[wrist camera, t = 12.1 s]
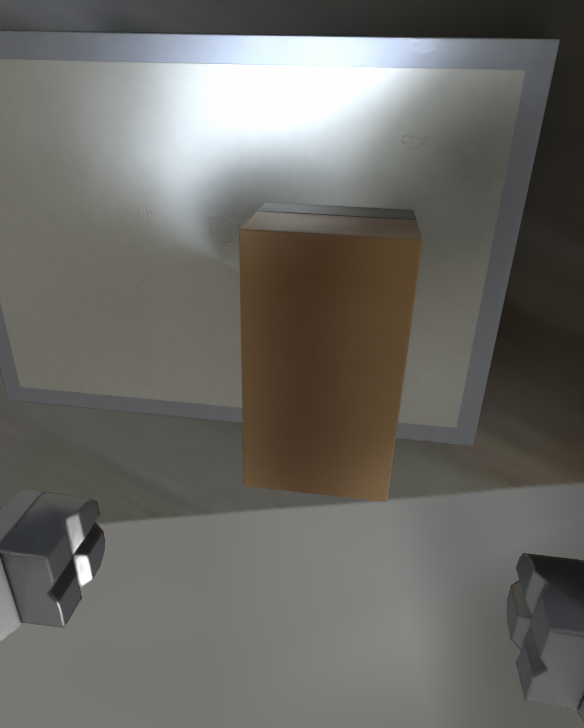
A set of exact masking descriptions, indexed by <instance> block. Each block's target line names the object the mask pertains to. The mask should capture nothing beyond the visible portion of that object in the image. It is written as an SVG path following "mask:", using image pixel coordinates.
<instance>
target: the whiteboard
mask: <svg viewBox="0 0 584 728" xmlns="http://www.w3.org/2000/svg"><path fill="white" fill-rule="evenodd" d="M559 43H560V39H540V38H475V37H409V36H344V35H278V34H213V33H147V32H82V31H16V30H0V370H1V374H2V378H3V382H4V386H5V390H6V394H7V398H8V400H11V401H21V402H31V403H42V404H52V405H62V406H72V407H83V408H93V409H103V410H114V411H124V412H134V413H144V414H155V415H165V416H175V417H186V418H196V419H206V420H216V421H227V422H237V423H243V418H242V366H241V313H240V261H239V229H240V228H241V227H242V226H243V225H244V224H245V223H246V222H247V221H248V220H249V219H250V218H251V217H252V216H253V215H254V214H255V213H256V212H257V211H258V210H259V209H260V208H261V207H262V205H263V204H264V203H266V202H267V203H286V204H305V205H323V206H342V207H361V208H380V209H399V210H413V211H414V214H415V217H416V220H417V224H418V227H419V230H420V234H421V237H422V240H423V245H422V252H421V259H420V267H419V274H418V281H417V289H416V296H415V303H414V311H413V318H412V325H411V333H410V340H409V347H408V354H407V362H406V369H405V376H404V384H403V391H402V398H401V406H400V413H399V420H398V428H397V435H396V438H401V439H412V440H422V441H432V442H443V443H453V444H463V445H474V440H475V436H476V431H477V426H478V422H479V417H480V412H481V408H482V403H483V398H484V393H485V389H486V384H487V379H488V375H489V370H490V365H491V361H492V356H493V351H494V347H495V342H496V337H497V333H498V328H499V323H500V319H501V314H502V309H503V305H504V300H505V295H506V291H507V286H508V281H509V277H510V272H511V267H512V263H513V258H514V253H515V249H516V244H517V239H518V235H519V230H520V225H521V221H522V216H523V211H524V207H525V202H526V197H527V193H528V188H529V183H530V179H531V174H532V169H533V165H534V160H535V155H536V151H537V146H538V141H539V137H540V132H541V127H542V123H543V118H544V113H545V109H546V104H547V99H548V95H549V90H550V85H551V81H552V76H553V71H554V66H555V62H556V57H557V52H558V48H559Z"/></svg>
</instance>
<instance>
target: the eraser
mask: <svg viewBox="0 0 584 728" xmlns="http://www.w3.org/2000/svg"><path fill="white" fill-rule="evenodd" d="M422 245H423V240H422V237H421V234H420V230H419V227H418V224H417V220H416V217H415V214H414V211H413V210H399V209H380V208H361V207H342V206H323V205H305V204H286V203H267V202H266V203H264V204H263V205H262V207H261V208H260V209H259V210H258V211H257V212H256V213H255V214H254V215H253V216H252V217H251V218H250V219H249V220H248V221H247V222H246V223H245V224H244V225H243V226H242V227H241V228H240V229H239V261H240V313H241V366H242V418H243V470H244V486H250V487H259V488H268V489H276V490H285V491H294V492H303V493H312V494H321V495H330V496H339V497H348V498H356V499H365V500H374V501H383V502H387V500H388V493H389V486H390V479H391V471H392V464H393V457H394V449H395V442H396V435H397V428H398V420H399V413H400V406H401V398H402V391H403V384H404V376H405V369H406V362H407V354H408V347H409V340H410V333H411V325H412V318H413V311H414V303H415V296H416V289H417V281H418V274H419V267H420V259H421V252H422Z"/></svg>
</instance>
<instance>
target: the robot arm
mask: <svg viewBox="0 0 584 728" xmlns="http://www.w3.org/2000/svg"><path fill="white" fill-rule="evenodd" d="M99 515H100V511H99V507H98V503H97V501H95V500H93V499H89V498H82V497H76V496H69V495H62V494H56V493H49V492H39V491H33V490H27V489H23V490H21V491H18V492H16V493H15V494H14V495H13V496H12V497H11V498H10V499H9V501H8V502H7V503H6V504H5V505H4V506H3V507H2V508H1V509H0V641H1V640H3V639H4V638H5V637H7V636H8V635H9V634H11V633H12V632H13V631H15V630H16V629H17V628H19V627H20V626H21V622H22V623H30V624H37V625H45V626H53V627H61V628H65V626H66V624H67V622H68V621H69V619H70V617H71V616H72V614H73V612H74V611H75V609H76V607H77V606H78V604H79V602H80V600H81V599H82V596H81V590H80V587H81V586H83V585H84V584H86V583H87V582H89V581H90V580H92V579H93V578H94V576H95V575H96V573H97V571H98V569H99V567H100V565H101V561H102V558H103V555H104V549H105V538H104V532H103V530H102V529H101V528H100V527H99V526H98V525H97V524H96V523H95V521H96V520H97V518H98V517H99ZM516 569H517V573H518V577H519V580H518V581H517V582H515V583H514V584H512V585H511V588H510V591H509V595H508V599H507V600H508V601H507V622H508V629H509V633H510V639H511V640H512V641H513V643H514V644H515V645H516V646H517V647H518V648H519V649H520V653H519V656H518V659H517V662H516V665H517V669H518V673H519V678H520V682H521V686H522V691H523V694H524V699H525V701H529V702H535V703H540V704H545V705H550V706H556V707H561V708H567V709H572V710H577V711H578V715H579V716H580V717H581V718H582V720H583V721H584V560H578V559H569V558H561V557H552V556H544V555H535V554H526V553H523V554H522V555H521V557H520V558H519V561H518V564H517V567H516Z"/></svg>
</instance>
